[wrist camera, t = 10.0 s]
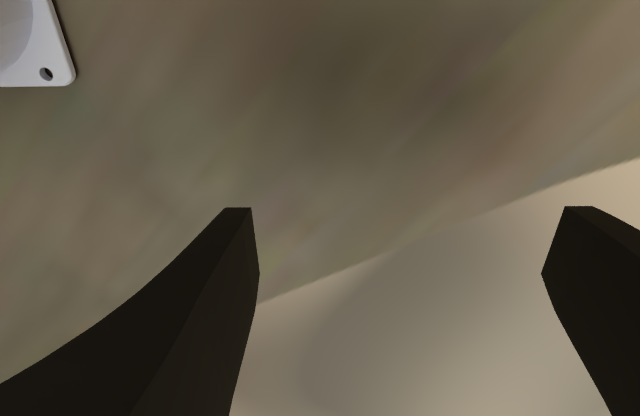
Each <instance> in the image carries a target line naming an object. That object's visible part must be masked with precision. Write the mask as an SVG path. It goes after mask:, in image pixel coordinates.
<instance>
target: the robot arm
mask: <svg viewBox="0 0 640 416" xmlns="http://www.w3.org/2000/svg"><path fill="white" fill-rule="evenodd" d="M45 68H48V69H49V70H50V71H51V72H52V74H53V78H52V77H50V76H48V75H47V74H46V72H45ZM75 77H76V73H75V69H74V66H73V63H72V60H71V57H70V54H69V51H68V48H67V45H66V42H65V39H64V36H63V33H62V30H61V27H60V24H59V21H58V18H57V15H56V12H55V9H54V6H53V3H52V0H0V87H36V86H66V85H69V84H71V83H72V82H73V81H74V80H75ZM259 275H260V272H259V264H258V256H257V249H256V241H255V234H254V226H253V218H252V211H251V207H247V208H224V209H223V210H222V211H221V212H220V213H219V214H218V215H217V216H216V217H215V218H214V219H213V220H212V221H211V222H210V224H209V225H208V226H207V227H206V228H205V229H204V230H203V231H202V232H201V233H200V234H199V235H198V236H197V237H196V238H195V239H194V240H193V241H192V242H191V243H190V244H189V245H188V246H187V247H186V248H185V249H184V250H183V251H182V252H181V253H180V254H179V255H178V256H177V257H176V258H175V259H174V260H173V261H172V262H171V263H170V264H169V265H168V266H167V267H165V268H164V269H163V270H162V271H161V272H160V273H159V274H158V275H156V276H155V277H154V278H153V279H152V280H151V281H150V282H149V283H148V284H146V285H145V286H144V287H143V288H142V289H141V290H139V291H138V292H137V293H136V294H135V295H133V296H132V297H131V298H130V299H128V300H127V301H126V302H125V303H123V304H122V305H121V306H119V307H118V308H117V309H115V310H114V311H113V312H111V313H110V314H109V315H107V316H106V317H105V318H103V319H102V320H101V321H99V322H98V323H96V324H95V325H94V326H92V327H91V328H89V329H88V330H86V331H85V332H83V333H82V334H80V335H79V336H77V337H76V338H74V339H73V340H71V341H69V342H68V343H66V344H65V345H63V346H62V347H60V348H59V349H57V350H56V351H54V352H53V353H51V354H50V355H48V356H47V357H45V358H43V359H42V360H40V361H39V362H37V363H35V364H34V365H32V366H30V367H28V368H27V369H25V370H23V371H22V372H20V373H18V374H17V375H15V376H13V377H11V378H10V379H8V380H6V381H4V382H3V383H1V384H0V416H229V412H230V408H231V403H232V398H233V394H234V391H235V387H236V383H237V379H238V375H239V371H240V367H241V364H242V360H243V356H244V352H245V348H246V344H247V340H248V336H249V332H250V329H251V324H252V321H253V317H254V312H255V307H256V299H257V292H258V283H259ZM541 275H542V278H543V281H544V283H545V286H546V289H547V292H548V295H549V297H550V300H551V302H552V305H553V307H554V310H555V312H556V314H557V316H558V318H559V320H560V321H561V323H562V325H563V327H564V329H565V331H566V333H567V335H568V336H569V338H570V340H571V342H572V344H573V346H574V347H575V349H576V351H577V353H578V354H579V356H580V358H581V360H582V361H583V363H584V365H585V367H586V369H587V371H588V372H589V374H590V376H591V378H592V380H593V381H594V383H595V385H596V387H597V388H598V390H599V392H600V394H601V396H602V398H603V399H604V401H605V403H606V405H607V407H608V409H609V411H610V413H611V415H612V416H640V230H638V229H636V228H634V227H633V226H631V225H629V224H627V223H625V222H623V221H621V220H620V219H618V218H616V217H614V216H612V215H610V214H608V213H606V212H604V211H602V210H600V209H597V208H595V207H593V206H565V207H564V210H563V213H562V216H561V219H560V222H559V224H558V227H557V230H556V233H555V236H554V238H553V241H552V244H551V247H550V250H549V252H548V255H547V258H546V261H545V264H544V267H543V269H542V272H541Z"/></svg>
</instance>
